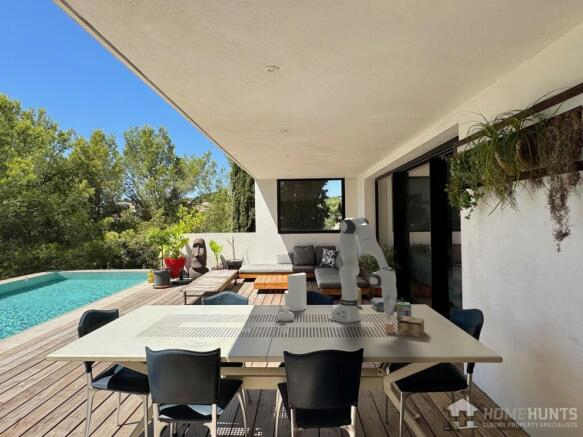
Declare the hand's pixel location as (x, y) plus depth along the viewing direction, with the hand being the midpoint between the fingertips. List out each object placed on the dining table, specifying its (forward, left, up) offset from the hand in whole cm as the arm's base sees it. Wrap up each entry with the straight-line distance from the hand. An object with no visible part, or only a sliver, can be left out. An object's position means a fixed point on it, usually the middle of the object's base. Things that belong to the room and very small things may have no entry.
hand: (390, 316), depth 209 cm
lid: (+18, +3, -2) cm, 19 cm away
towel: (-15, +59, -10) cm, 62 cm away
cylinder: (-79, +31, -10) cm, 86 cm away
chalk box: (+3, +31, -10) cm, 33 cm away
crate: (+11, +3, -10) cm, 15 cm away
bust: (-70, -4, -10) cm, 71 cm away
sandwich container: (-42, +56, -10) cm, 71 cm away
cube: (-1, 0, -10) cm, 10 cm away
